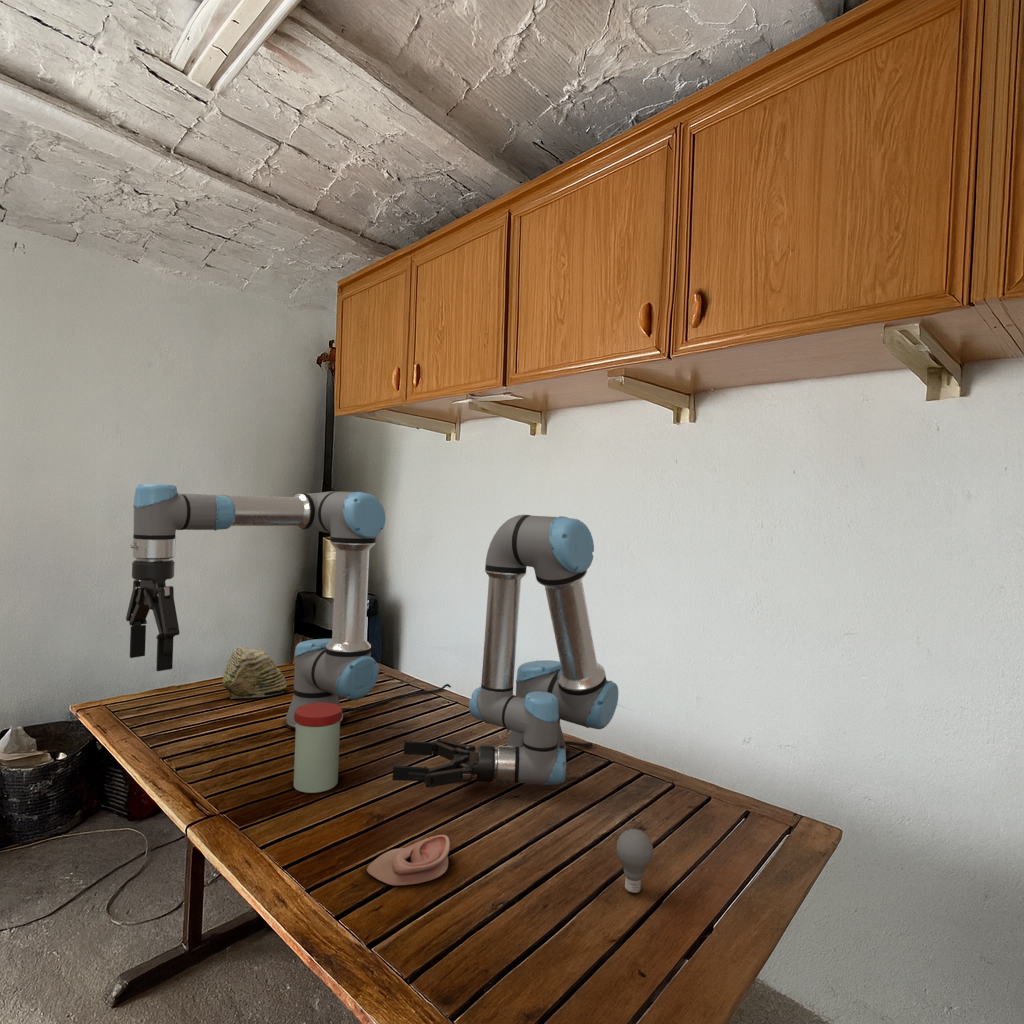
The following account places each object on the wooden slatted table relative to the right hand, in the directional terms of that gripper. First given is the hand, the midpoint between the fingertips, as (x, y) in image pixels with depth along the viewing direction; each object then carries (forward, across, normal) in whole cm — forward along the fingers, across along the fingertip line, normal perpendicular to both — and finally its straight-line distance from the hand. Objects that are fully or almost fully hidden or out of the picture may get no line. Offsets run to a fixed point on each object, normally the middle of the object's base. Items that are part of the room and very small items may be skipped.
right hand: (398, 759), depth 139 cm
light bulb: (-45, -34, -6) cm, 57 cm away
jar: (+18, +1, -6) cm, 19 cm away
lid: (+18, 0, +10) cm, 21 cm away
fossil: (+56, +59, -6) cm, 81 cm away
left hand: (+50, -10, +22) cm, 55 cm away
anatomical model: (-7, -30, -6) cm, 31 cm away
